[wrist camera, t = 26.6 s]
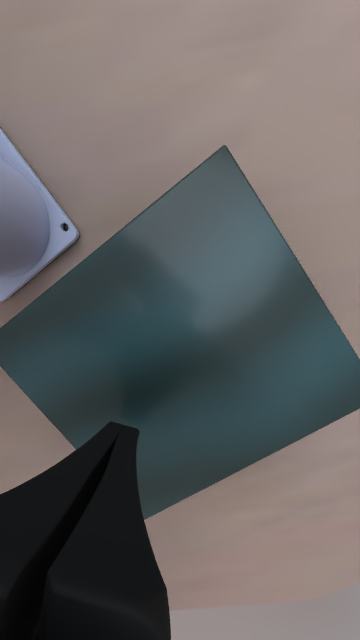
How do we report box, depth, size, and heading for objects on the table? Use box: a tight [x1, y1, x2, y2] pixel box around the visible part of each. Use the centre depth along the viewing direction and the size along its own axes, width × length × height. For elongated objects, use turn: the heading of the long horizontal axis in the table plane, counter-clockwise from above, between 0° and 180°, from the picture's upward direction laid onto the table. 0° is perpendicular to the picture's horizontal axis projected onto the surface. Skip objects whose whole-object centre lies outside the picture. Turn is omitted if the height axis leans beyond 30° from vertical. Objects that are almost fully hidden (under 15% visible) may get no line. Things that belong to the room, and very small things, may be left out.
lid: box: [0, 145, 360, 520], centre depth 13 cm, size 12×14×1 cm
